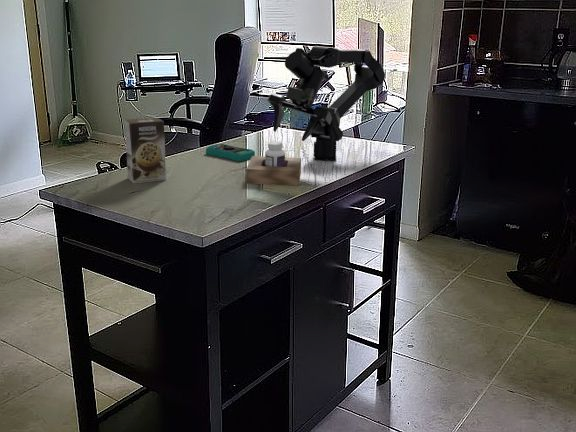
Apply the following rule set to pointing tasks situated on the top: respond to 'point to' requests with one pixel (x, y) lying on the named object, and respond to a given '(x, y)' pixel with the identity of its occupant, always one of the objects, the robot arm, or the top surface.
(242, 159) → the digital multimeter
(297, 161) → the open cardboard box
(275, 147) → the pill bottle
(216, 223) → the top surface
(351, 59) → the robot arm
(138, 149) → the cookie box
